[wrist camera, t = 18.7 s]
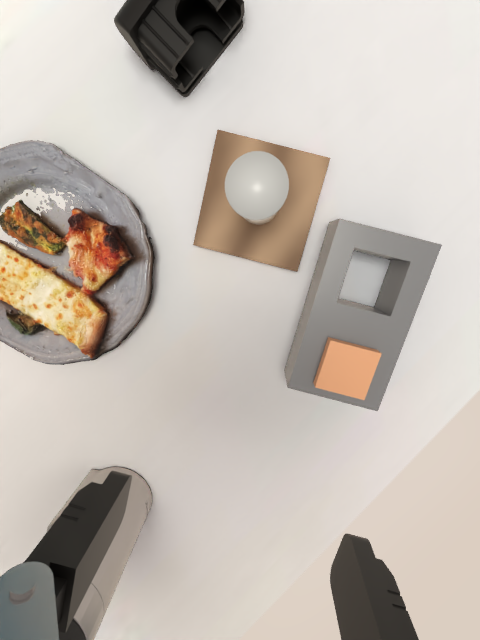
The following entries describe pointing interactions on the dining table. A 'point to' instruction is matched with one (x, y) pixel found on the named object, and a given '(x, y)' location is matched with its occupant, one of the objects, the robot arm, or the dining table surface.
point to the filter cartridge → (257, 186)
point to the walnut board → (288, 224)
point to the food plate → (69, 259)
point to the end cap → (180, 35)
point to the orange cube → (346, 368)
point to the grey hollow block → (360, 306)
